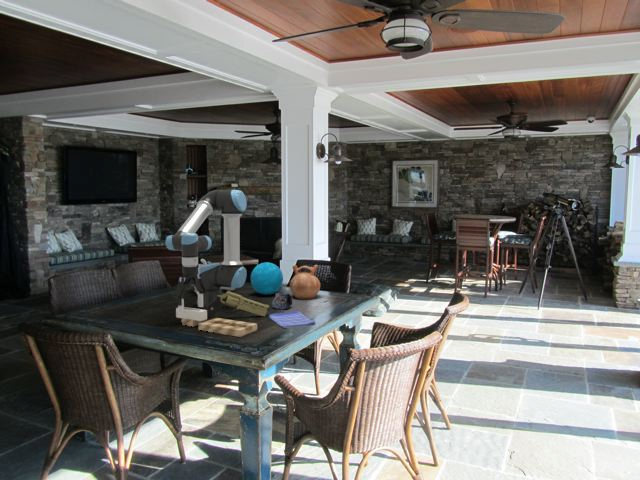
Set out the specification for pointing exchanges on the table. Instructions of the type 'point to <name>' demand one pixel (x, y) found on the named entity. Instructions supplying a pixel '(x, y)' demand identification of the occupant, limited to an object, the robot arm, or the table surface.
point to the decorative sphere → (266, 278)
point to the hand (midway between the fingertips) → (191, 309)
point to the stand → (189, 322)
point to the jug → (304, 283)
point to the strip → (192, 314)
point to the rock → (282, 301)
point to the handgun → (234, 305)
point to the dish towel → (291, 319)
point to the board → (228, 327)
